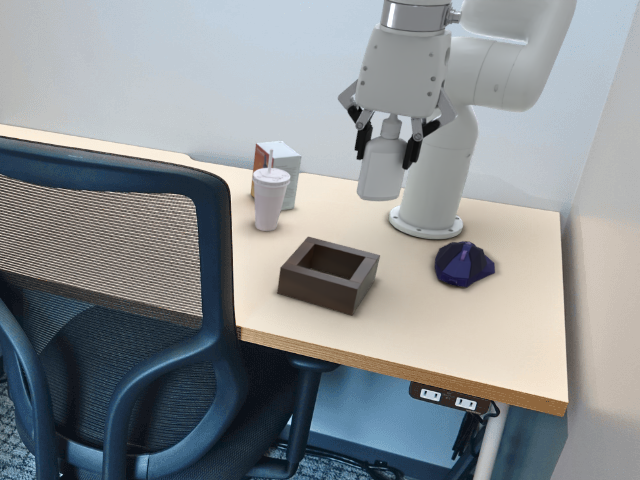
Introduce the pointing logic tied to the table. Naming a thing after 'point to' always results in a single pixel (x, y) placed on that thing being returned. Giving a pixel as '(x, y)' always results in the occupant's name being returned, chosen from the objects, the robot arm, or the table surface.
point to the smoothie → (269, 195)
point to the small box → (279, 166)
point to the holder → (324, 287)
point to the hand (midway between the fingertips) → (384, 160)
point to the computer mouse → (462, 264)
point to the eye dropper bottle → (383, 163)
